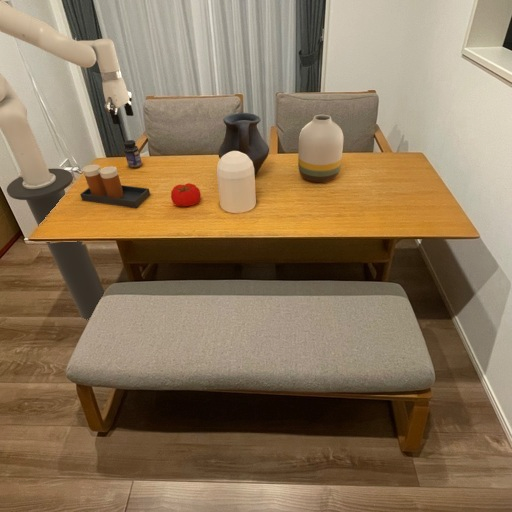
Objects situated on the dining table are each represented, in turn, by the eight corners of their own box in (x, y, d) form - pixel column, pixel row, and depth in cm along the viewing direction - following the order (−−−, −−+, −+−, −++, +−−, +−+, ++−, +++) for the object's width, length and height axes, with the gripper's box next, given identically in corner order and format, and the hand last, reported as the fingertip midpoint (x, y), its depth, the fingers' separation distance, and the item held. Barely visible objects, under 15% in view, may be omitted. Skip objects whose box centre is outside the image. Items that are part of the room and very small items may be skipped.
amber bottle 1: (88, 196, 150) (78, 170, 144) (97, 189, 155) (89, 163, 148) (101, 198, 149) (92, 172, 142) (110, 190, 153) (102, 165, 147)
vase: (317, 163, 167) (320, 106, 152) (348, 176, 156) (355, 116, 142) (289, 176, 158) (290, 117, 143) (320, 190, 148) (324, 129, 133)
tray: (82, 200, 150) (80, 194, 148) (98, 188, 157) (96, 181, 156) (136, 208, 144) (134, 201, 142) (150, 194, 151) (148, 188, 149)
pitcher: (266, 161, 171) (264, 103, 155) (273, 184, 154) (272, 122, 138) (219, 165, 169) (213, 107, 154) (222, 189, 152) (215, 126, 137)
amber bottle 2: (104, 198, 149) (95, 172, 142) (113, 191, 153) (105, 165, 146) (118, 200, 147) (110, 174, 140) (127, 192, 152) (119, 167, 145)
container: (259, 210, 139) (257, 158, 126) (222, 215, 137) (216, 163, 125) (252, 192, 149) (249, 142, 137) (218, 197, 148) (212, 147, 135)
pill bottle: (140, 168, 170) (134, 144, 163) (126, 169, 170) (120, 145, 163) (143, 162, 175) (138, 139, 168) (130, 163, 175) (124, 139, 168)
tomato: (172, 198, 148) (168, 183, 144) (200, 194, 150) (198, 179, 146) (173, 211, 141) (169, 195, 137) (202, 207, 142) (200, 191, 138)
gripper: (116, 69, 156) (127, 112, 167) (89, 81, 144) (103, 126, 154) (132, 69, 154) (142, 113, 165) (106, 82, 142) (120, 128, 152)
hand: (123, 119), depth 160 cm, fingers open, 9 cm apart
